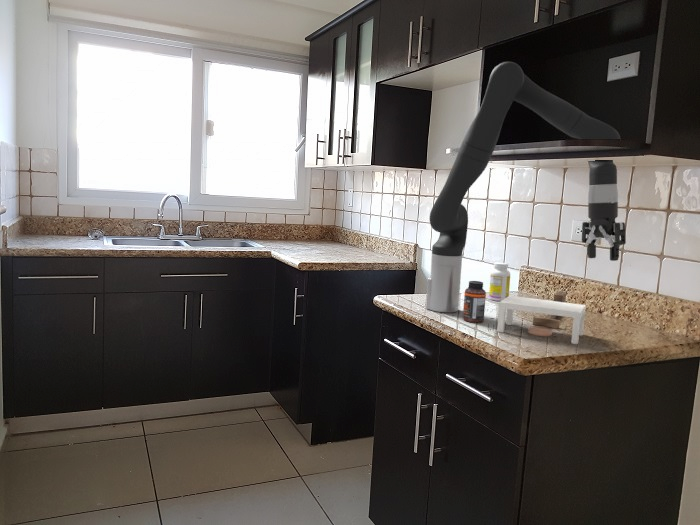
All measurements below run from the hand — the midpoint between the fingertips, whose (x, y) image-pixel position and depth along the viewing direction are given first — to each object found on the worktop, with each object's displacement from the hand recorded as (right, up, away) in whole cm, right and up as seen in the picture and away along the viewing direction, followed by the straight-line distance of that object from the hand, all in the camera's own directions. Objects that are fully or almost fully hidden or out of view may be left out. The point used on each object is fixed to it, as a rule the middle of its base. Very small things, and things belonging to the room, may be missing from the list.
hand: (602, 259), depth 158 cm
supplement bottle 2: (-19, -14, +39) cm, 45 cm away
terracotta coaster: (-20, -20, -8) cm, 30 cm away
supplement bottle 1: (-36, -18, +3) cm, 40 cm away
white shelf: (-20, -20, -8) cm, 29 cm away
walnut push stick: (-9, -18, +13) cm, 24 cm away
